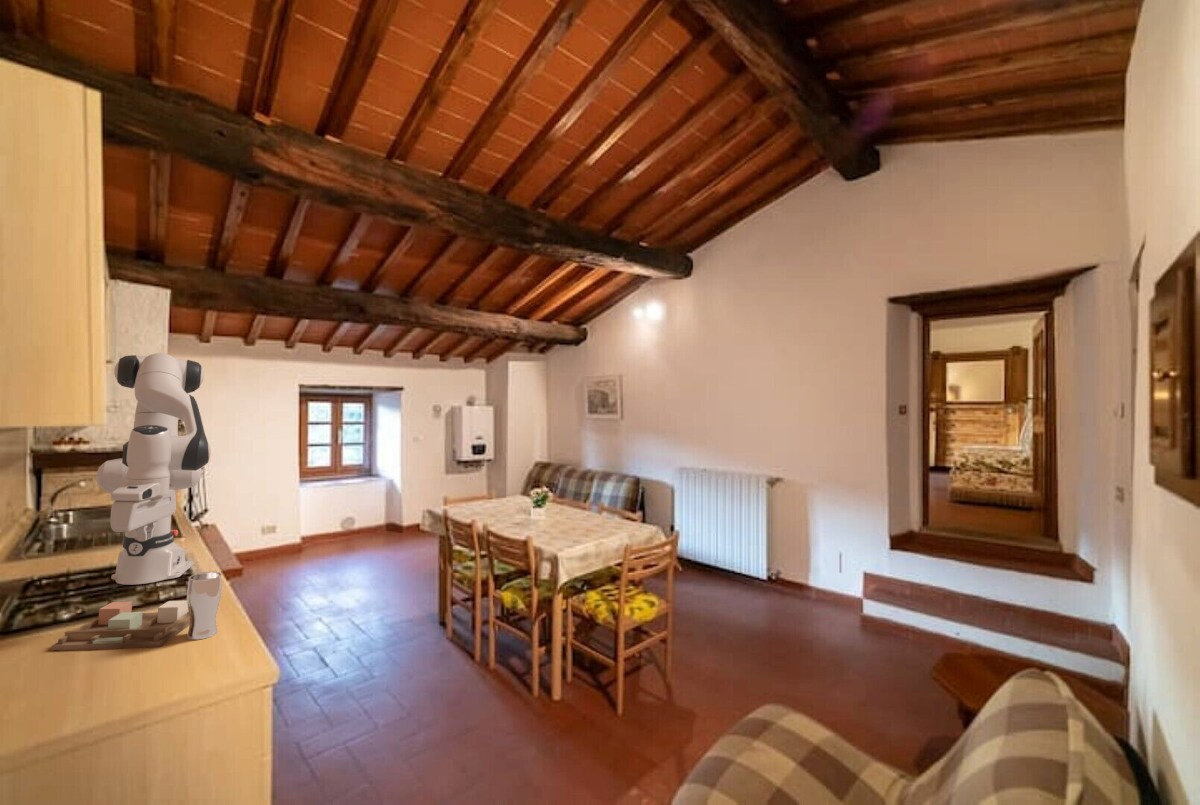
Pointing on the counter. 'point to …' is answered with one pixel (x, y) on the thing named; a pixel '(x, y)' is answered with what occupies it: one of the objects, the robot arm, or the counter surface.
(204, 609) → the beer glass
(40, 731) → the counter surface
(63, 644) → the brown compartment tray
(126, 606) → the salmon pink cube
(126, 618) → the sage green cube
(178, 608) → the pale pink cube
